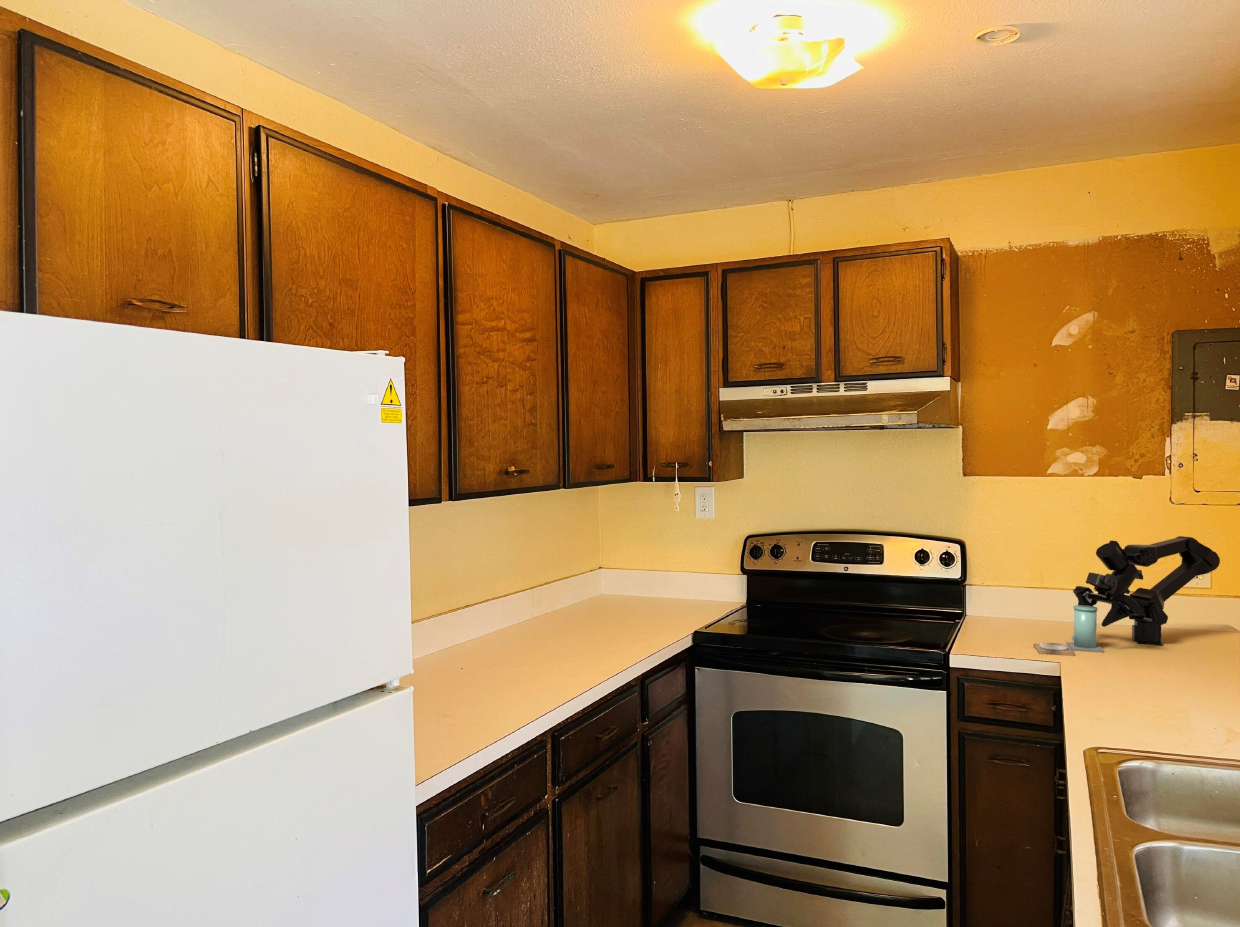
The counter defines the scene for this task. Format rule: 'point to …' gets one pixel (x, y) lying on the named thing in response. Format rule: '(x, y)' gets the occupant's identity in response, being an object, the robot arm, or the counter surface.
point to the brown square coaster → (1054, 649)
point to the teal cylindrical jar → (1085, 626)
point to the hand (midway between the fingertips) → (1089, 622)
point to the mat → (1074, 648)
